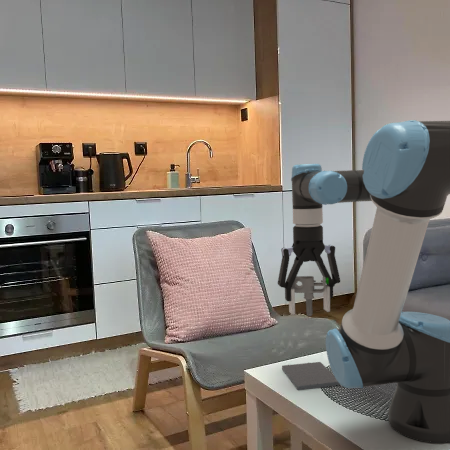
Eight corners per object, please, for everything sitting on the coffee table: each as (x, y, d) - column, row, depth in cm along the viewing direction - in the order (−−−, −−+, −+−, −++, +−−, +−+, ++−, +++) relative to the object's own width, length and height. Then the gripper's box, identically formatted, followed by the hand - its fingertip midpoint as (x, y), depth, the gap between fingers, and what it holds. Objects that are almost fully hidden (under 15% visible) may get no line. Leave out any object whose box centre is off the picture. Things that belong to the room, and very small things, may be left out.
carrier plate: (340, 385, 127) (340, 381, 127) (297, 390, 125) (297, 386, 125) (320, 365, 141) (320, 361, 141) (282, 369, 139) (281, 365, 139)
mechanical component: (329, 316, 129) (328, 278, 128) (289, 316, 131) (287, 278, 130) (329, 313, 132) (328, 275, 131) (290, 313, 134) (288, 276, 133)
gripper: (342, 221, 135) (343, 305, 137) (263, 225, 131) (265, 311, 133) (353, 224, 127) (354, 312, 129) (270, 228, 124) (272, 319, 126)
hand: (309, 311), depth 131 cm, fingers closed on mechanical component, 9 cm apart
